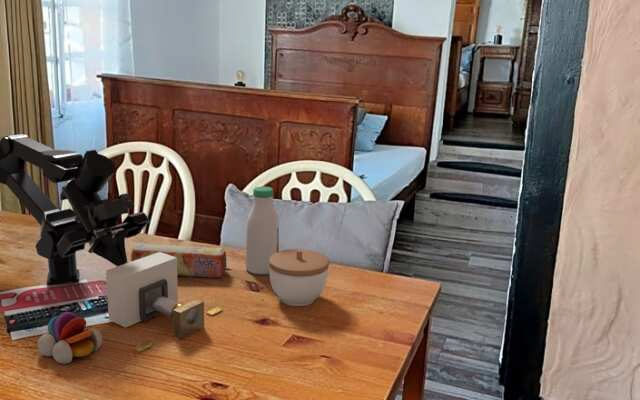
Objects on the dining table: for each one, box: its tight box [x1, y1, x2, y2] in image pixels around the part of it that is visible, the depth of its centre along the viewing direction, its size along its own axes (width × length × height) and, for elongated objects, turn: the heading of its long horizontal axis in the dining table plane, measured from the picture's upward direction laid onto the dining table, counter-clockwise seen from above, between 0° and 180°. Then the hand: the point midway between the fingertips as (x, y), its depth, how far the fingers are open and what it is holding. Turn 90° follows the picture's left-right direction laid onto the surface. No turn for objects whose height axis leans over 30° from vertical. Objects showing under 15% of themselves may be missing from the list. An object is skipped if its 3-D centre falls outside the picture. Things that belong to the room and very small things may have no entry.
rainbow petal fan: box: [37, 311, 103, 365], centre depth 103 cm, size 8×10×7 cm
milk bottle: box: [245, 186, 280, 276], centre depth 141 cm, size 8×8×20 cm
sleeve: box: [105, 252, 179, 329], centre depth 118 cm, size 6×13×10 cm, turn 146°
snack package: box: [130, 242, 227, 279], centre depth 139 cm, size 21×7×7 cm, turn 90°
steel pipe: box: [132, 291, 224, 353], centre depth 117 cm, size 19×21×6 cm
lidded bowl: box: [269, 248, 330, 307], centre depth 127 cm, size 13×13×11 cm
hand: (125, 268), depth 120 cm, fingers closed
